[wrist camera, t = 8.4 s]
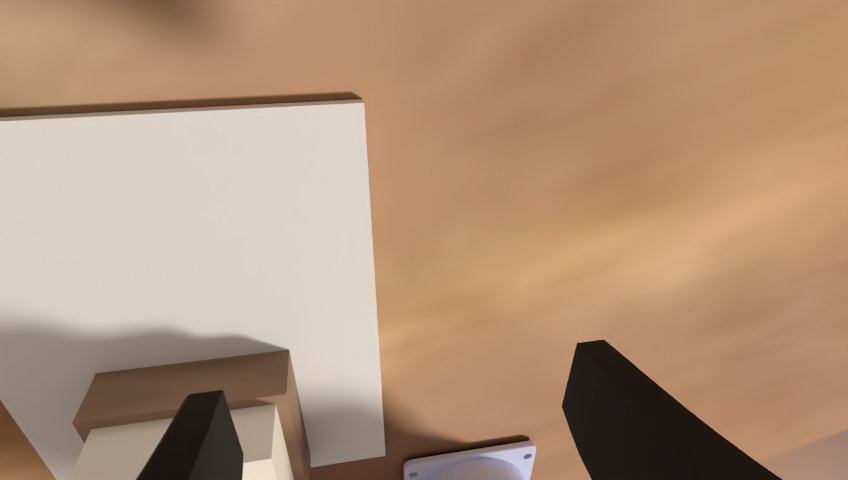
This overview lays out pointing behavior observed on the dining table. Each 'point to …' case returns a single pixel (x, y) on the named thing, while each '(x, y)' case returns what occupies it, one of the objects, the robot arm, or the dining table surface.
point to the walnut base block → (170, 384)
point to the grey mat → (189, 260)
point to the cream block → (134, 443)
